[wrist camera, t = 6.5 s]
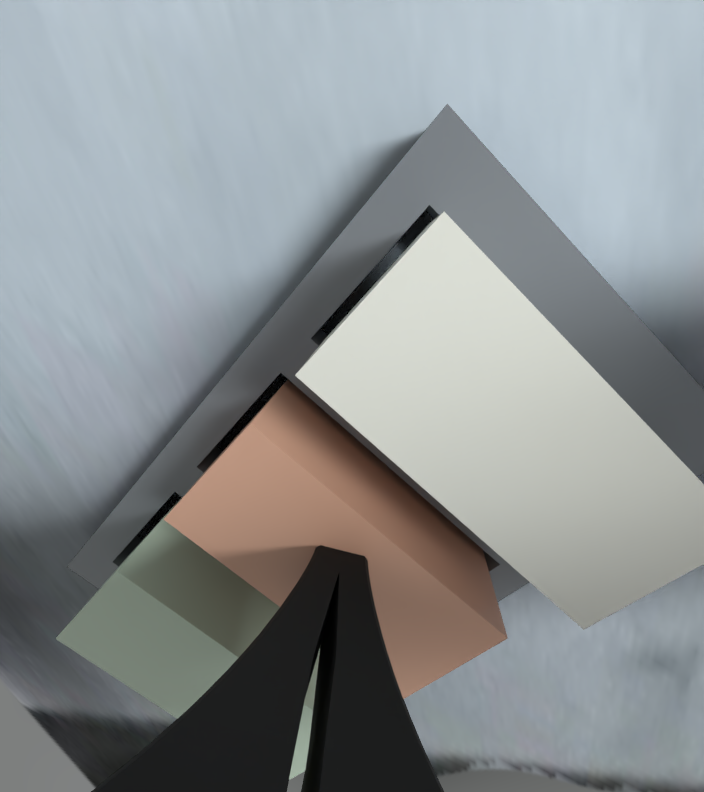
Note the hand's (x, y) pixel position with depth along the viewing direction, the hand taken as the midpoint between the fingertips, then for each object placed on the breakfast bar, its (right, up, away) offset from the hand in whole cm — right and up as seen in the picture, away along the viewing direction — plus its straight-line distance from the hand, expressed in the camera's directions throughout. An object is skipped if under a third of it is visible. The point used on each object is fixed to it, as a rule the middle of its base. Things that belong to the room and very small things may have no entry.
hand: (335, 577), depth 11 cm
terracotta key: (0, +1, +3) cm, 3 cm away
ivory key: (+4, +5, +1) cm, 7 cm away
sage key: (-4, -3, +5) cm, 7 cm away
